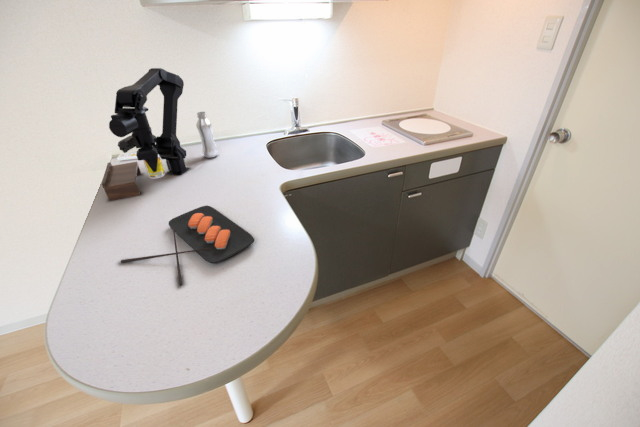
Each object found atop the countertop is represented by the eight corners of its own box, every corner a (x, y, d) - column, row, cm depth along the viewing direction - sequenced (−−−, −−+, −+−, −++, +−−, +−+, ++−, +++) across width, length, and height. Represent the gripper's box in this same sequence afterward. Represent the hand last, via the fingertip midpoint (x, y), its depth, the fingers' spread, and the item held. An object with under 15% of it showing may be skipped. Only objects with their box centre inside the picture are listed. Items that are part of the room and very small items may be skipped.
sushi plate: (259, 245, 88) (257, 234, 86) (151, 306, 70) (146, 294, 68) (208, 208, 105) (206, 198, 103) (112, 250, 88) (106, 239, 86)
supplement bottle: (167, 175, 118) (159, 150, 112) (153, 180, 114) (143, 154, 109) (161, 171, 121) (153, 146, 115) (147, 176, 118) (137, 150, 112)
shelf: (114, 178, 126) (107, 162, 123) (141, 173, 130) (135, 158, 126) (109, 201, 111) (101, 183, 107) (140, 194, 114) (133, 177, 111)
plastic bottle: (221, 154, 145) (212, 111, 134) (211, 160, 140) (201, 115, 129) (211, 152, 147) (201, 110, 136) (201, 158, 142) (189, 114, 131)
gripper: (116, 123, 112) (132, 163, 120) (111, 139, 98) (129, 183, 106) (150, 119, 116) (163, 158, 124) (150, 133, 101) (164, 176, 110)
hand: (154, 168), depth 116 cm, fingers closed on supplement bottle, 5 cm apart
